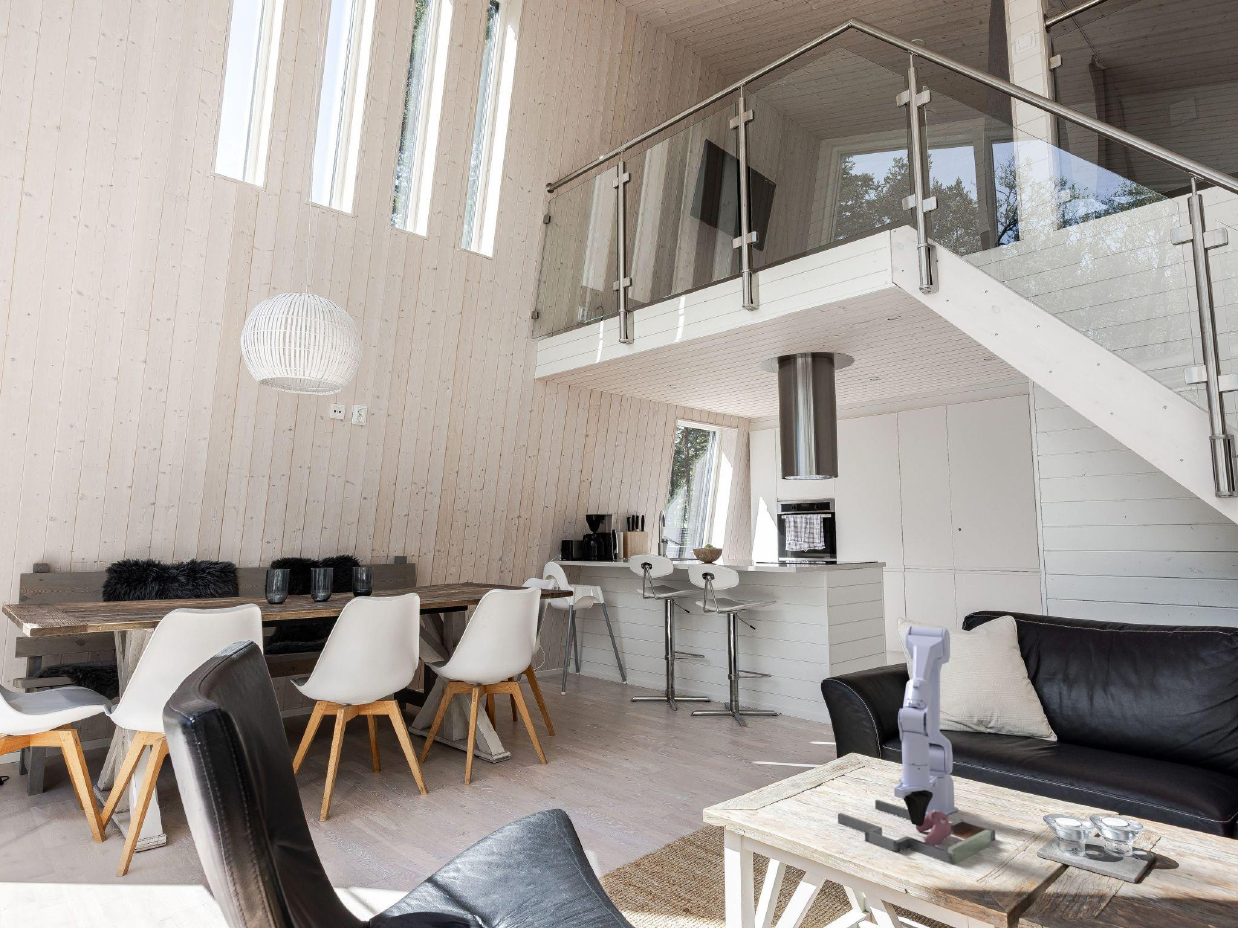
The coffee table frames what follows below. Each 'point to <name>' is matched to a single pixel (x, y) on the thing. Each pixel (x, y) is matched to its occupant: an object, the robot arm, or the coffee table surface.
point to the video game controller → (935, 827)
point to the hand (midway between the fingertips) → (917, 824)
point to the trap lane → (973, 842)
